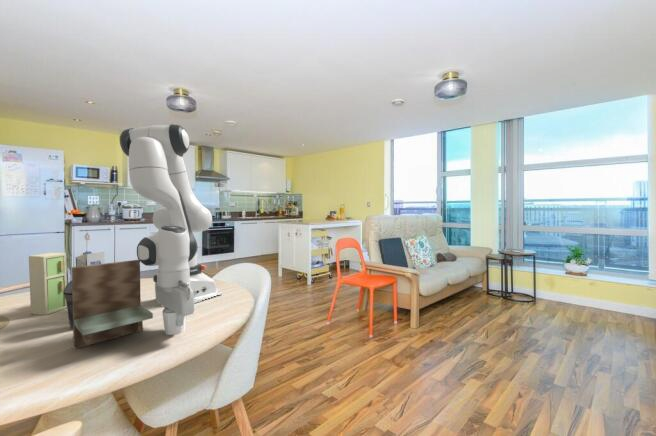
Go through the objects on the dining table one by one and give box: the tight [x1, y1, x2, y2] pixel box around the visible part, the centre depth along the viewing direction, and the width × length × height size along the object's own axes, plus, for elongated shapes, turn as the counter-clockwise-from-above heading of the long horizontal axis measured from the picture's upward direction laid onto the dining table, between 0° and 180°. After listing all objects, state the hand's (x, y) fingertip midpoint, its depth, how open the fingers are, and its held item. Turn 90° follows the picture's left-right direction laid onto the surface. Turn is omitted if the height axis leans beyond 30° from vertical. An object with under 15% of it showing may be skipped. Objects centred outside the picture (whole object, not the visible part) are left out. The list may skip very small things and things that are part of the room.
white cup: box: [162, 308, 187, 336], centre depth 95 cm, size 7×7×7 cm
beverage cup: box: [64, 265, 83, 331], centre depth 97 cm, size 7×7×20 cm
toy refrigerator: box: [28, 252, 68, 316], centre depth 111 cm, size 8×7×21 cm
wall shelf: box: [71, 259, 154, 349], centre depth 86 cm, size 16×12×22 cm
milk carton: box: [75, 251, 105, 267], centre depth 124 cm, size 7×7×20 cm
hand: (174, 322), depth 95 cm, fingers open, 5 cm apart
